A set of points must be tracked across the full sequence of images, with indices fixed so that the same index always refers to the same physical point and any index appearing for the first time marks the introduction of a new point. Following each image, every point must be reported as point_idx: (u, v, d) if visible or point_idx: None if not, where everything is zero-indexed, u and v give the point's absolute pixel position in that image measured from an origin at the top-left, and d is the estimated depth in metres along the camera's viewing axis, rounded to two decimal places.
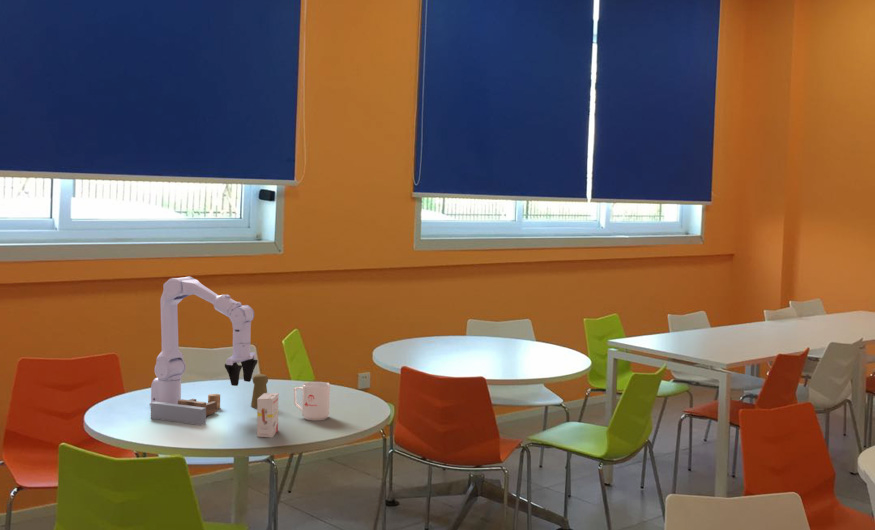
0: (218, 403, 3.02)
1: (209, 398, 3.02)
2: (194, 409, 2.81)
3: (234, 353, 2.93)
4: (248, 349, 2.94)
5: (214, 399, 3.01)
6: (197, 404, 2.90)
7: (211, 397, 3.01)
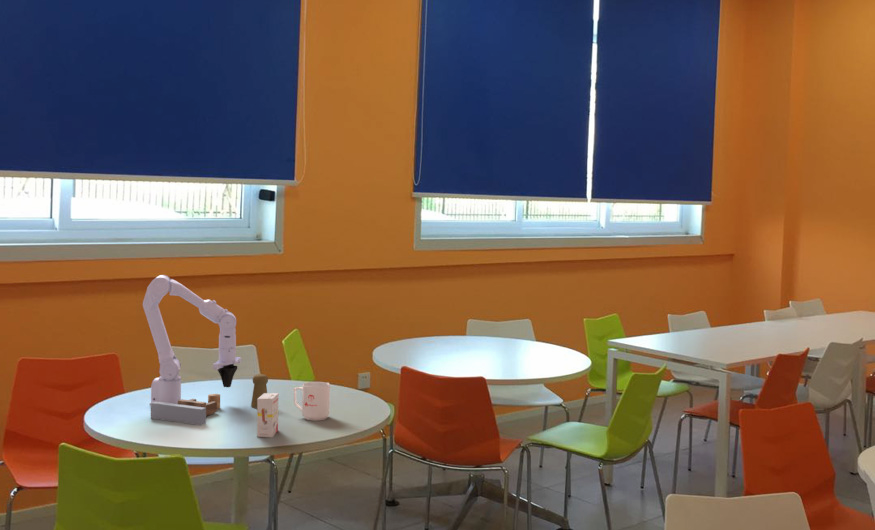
0: (218, 403, 3.02)
1: (209, 398, 3.02)
2: (194, 409, 2.81)
3: (220, 358, 3.07)
4: (234, 354, 3.08)
5: (214, 399, 3.01)
6: (197, 404, 2.90)
7: (211, 397, 3.01)
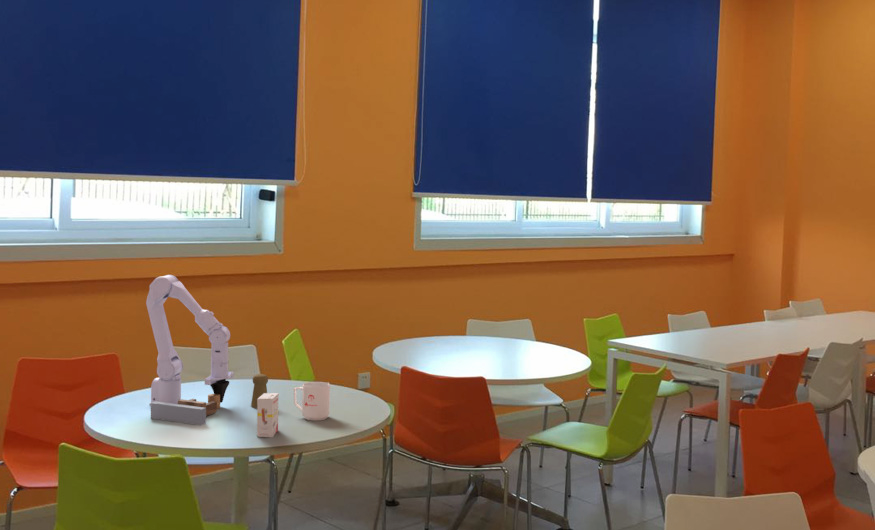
0: (218, 403, 3.02)
1: (209, 398, 3.01)
2: (194, 409, 2.81)
3: (212, 373, 3.03)
4: (226, 369, 3.04)
5: (214, 399, 3.01)
6: (197, 404, 2.90)
7: (211, 397, 3.01)
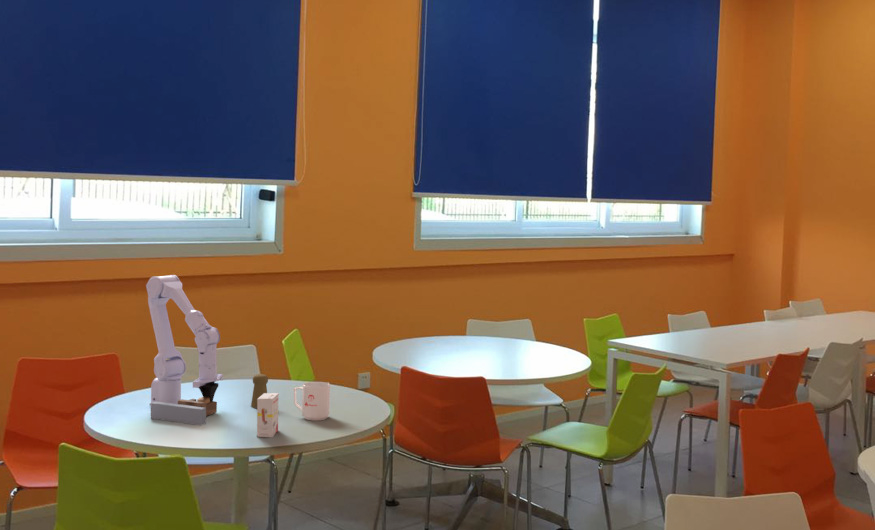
0: None
1: None
2: (194, 409, 2.81)
3: (200, 375, 2.96)
4: (215, 371, 2.97)
5: None
6: (197, 404, 2.90)
7: None
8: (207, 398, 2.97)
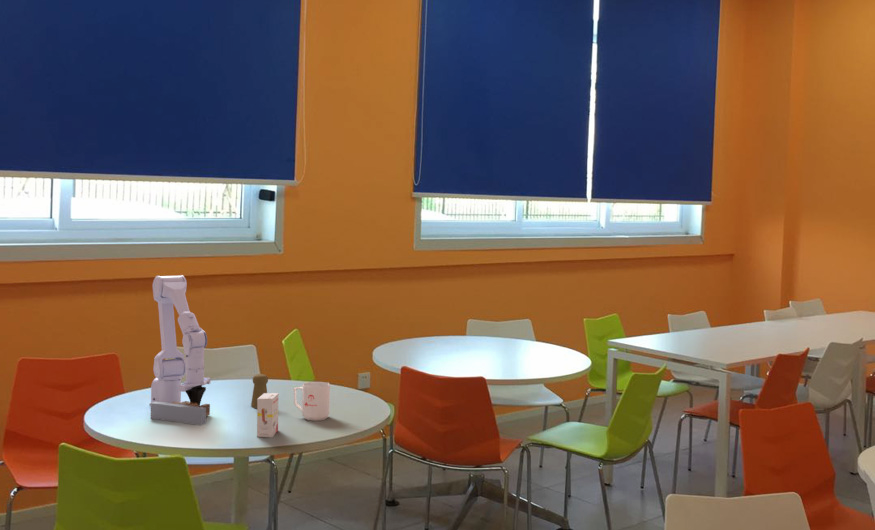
0: None
1: None
2: (194, 409, 2.81)
3: (187, 379, 2.90)
4: (202, 374, 2.91)
5: None
6: None
7: None
8: (194, 403, 2.91)
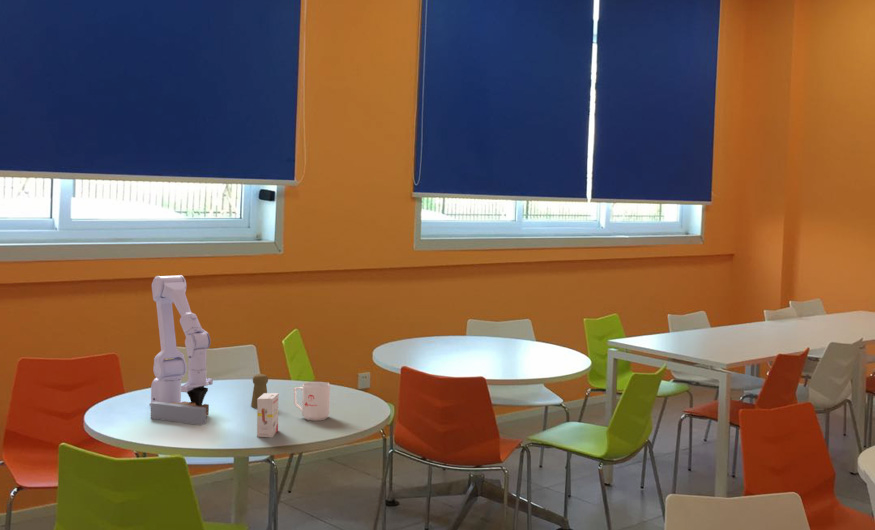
0: None
1: None
2: (194, 409, 2.81)
3: (189, 380, 2.91)
4: (204, 375, 2.92)
5: None
6: None
7: None
8: (193, 403, 2.90)
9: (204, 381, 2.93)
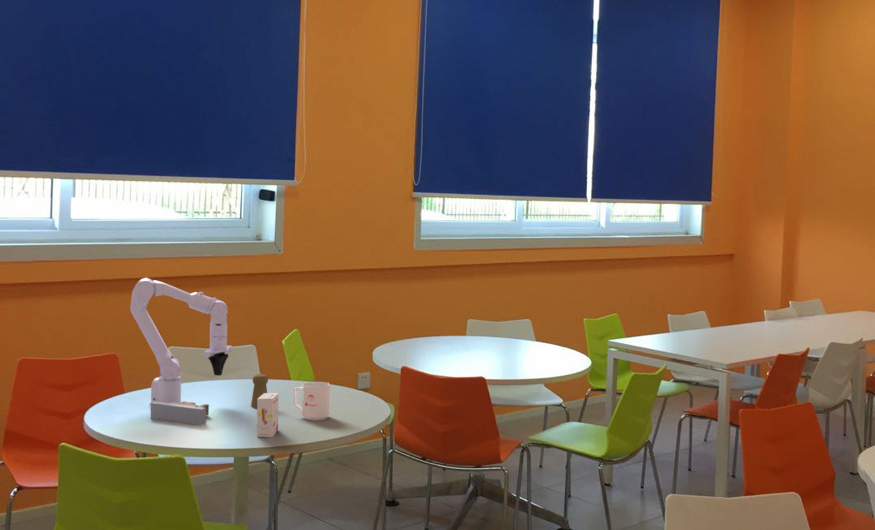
0: None
1: None
2: (194, 409, 2.81)
3: (211, 346, 3.07)
4: (225, 342, 3.08)
5: None
6: None
7: None
8: (193, 403, 2.90)
9: (225, 347, 3.08)
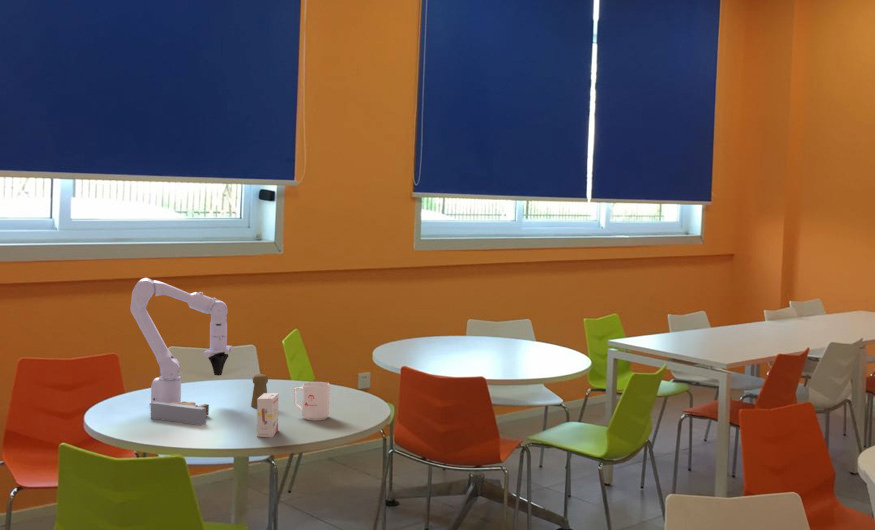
0: None
1: None
2: (194, 409, 2.81)
3: (211, 346, 3.07)
4: (225, 342, 3.08)
5: None
6: None
7: None
8: (193, 403, 2.90)
9: (225, 347, 3.08)
